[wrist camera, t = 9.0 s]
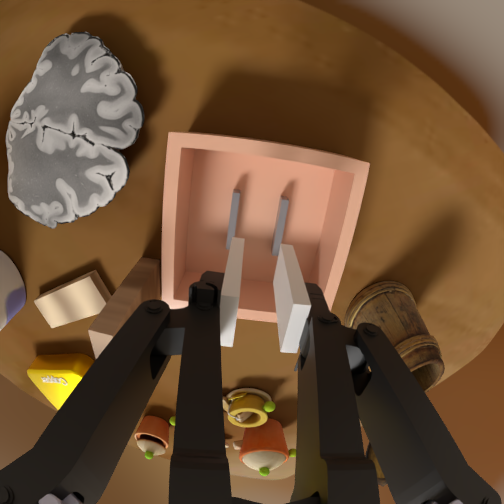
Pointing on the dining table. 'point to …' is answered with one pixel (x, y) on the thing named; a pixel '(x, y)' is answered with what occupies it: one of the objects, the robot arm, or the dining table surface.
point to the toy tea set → (239, 413)
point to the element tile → (58, 374)
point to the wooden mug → (398, 335)
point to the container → (10, 290)
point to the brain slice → (71, 131)
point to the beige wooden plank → (74, 300)
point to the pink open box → (256, 214)
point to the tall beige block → (126, 302)
